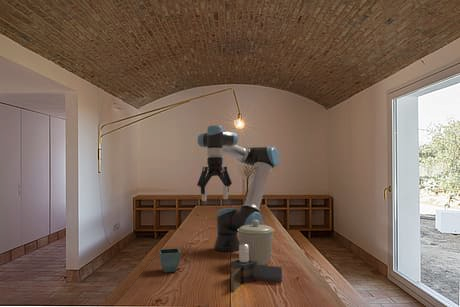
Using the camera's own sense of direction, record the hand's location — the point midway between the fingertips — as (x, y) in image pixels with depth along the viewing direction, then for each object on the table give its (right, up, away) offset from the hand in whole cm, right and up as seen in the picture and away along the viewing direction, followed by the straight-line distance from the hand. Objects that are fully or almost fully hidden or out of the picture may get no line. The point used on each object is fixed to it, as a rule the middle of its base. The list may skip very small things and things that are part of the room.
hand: (215, 200), depth 171 cm
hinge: (+14, -29, -30) cm, 45 cm away
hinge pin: (+13, -30, -24) cm, 41 cm away
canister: (+20, -31, -2) cm, 37 cm away
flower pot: (-20, -31, -13) cm, 39 cm away
